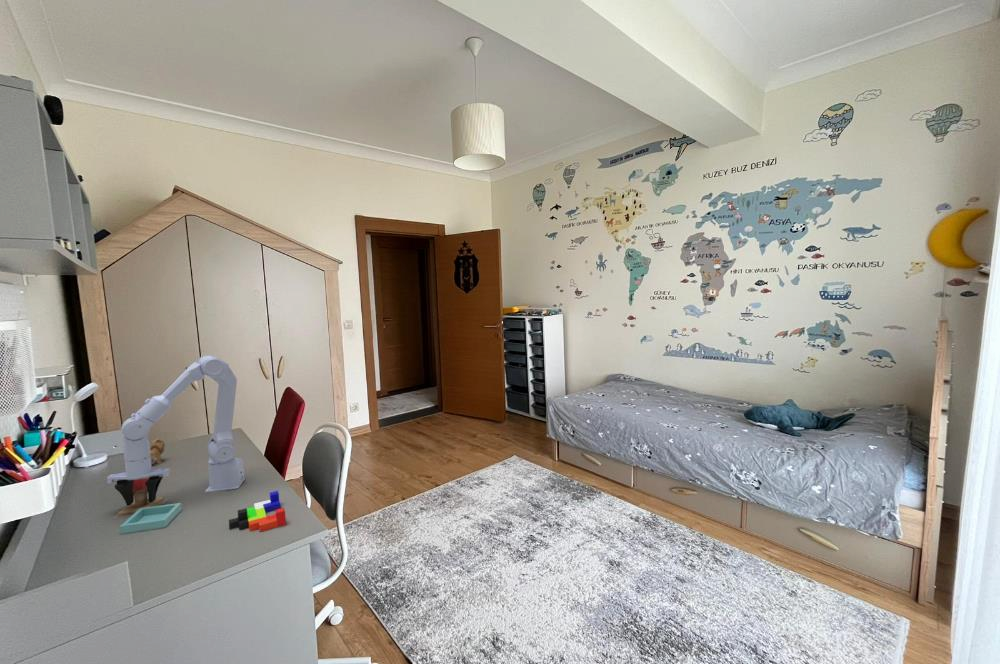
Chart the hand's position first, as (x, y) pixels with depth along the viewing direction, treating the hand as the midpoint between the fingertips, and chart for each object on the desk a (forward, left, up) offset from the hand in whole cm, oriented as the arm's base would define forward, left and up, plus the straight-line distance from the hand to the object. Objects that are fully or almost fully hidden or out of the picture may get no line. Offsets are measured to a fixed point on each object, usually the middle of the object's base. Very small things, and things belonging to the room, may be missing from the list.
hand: (141, 502), depth 122 cm
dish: (-7, +10, -2) cm, 12 cm away
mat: (0, 0, -2) cm, 2 cm away
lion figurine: (+15, -38, -2) cm, 41 cm away
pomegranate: (+6, -13, -2) cm, 15 cm away
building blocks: (-35, +18, -3) cm, 39 cm away
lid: (0, 0, -2) cm, 2 cm away
